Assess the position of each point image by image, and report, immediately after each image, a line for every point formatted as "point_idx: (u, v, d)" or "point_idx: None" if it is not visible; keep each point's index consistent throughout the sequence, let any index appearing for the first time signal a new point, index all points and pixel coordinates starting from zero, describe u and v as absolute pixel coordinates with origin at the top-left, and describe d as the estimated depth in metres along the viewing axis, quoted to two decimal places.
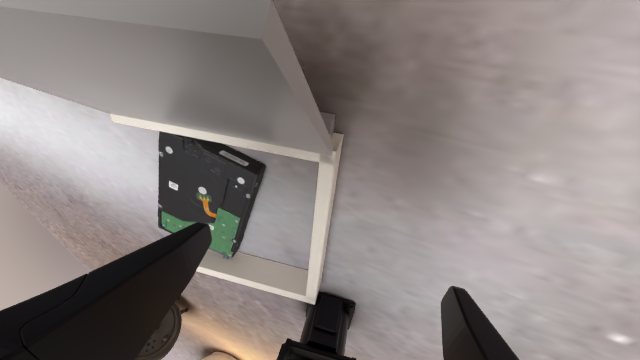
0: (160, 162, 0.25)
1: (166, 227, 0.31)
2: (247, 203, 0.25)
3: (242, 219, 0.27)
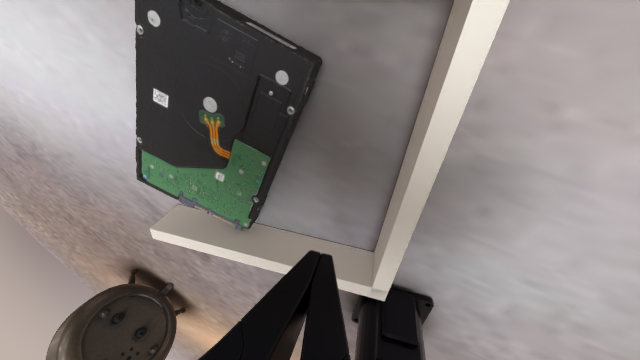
0: (138, 49, 0.14)
1: (149, 179, 0.20)
2: (287, 126, 0.15)
3: (274, 159, 0.16)
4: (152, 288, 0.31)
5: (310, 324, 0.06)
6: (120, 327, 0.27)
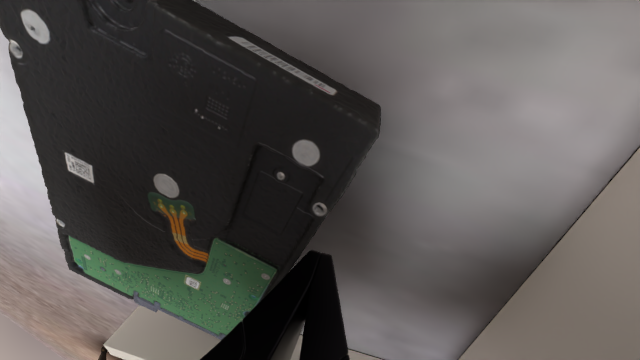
0: (22, 85, 0.07)
1: (87, 271, 0.13)
2: (311, 232, 0.08)
3: (284, 274, 0.09)
4: None
5: (309, 324, 0.06)
6: None
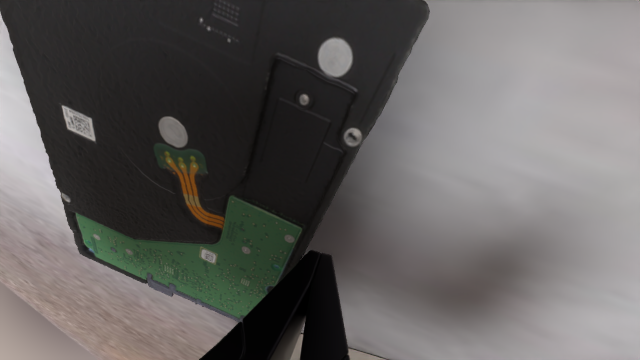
0: (9, 22, 0.07)
1: (98, 254, 0.12)
2: (342, 171, 0.07)
3: (311, 232, 0.08)
4: None
5: (309, 324, 0.06)
6: None
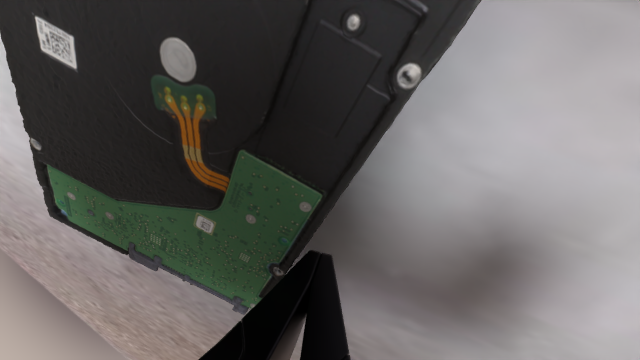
0: None
1: (72, 217, 0.11)
2: (386, 123, 0.05)
3: (333, 200, 0.07)
4: None
5: (310, 324, 0.06)
6: None
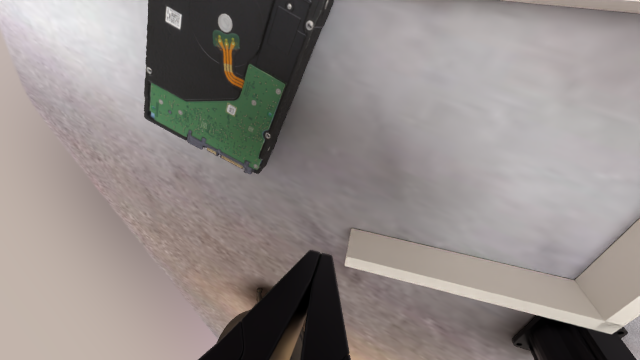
0: None
1: (157, 117, 0.20)
2: (305, 45, 0.14)
3: (289, 85, 0.16)
4: None
5: (310, 324, 0.06)
6: None
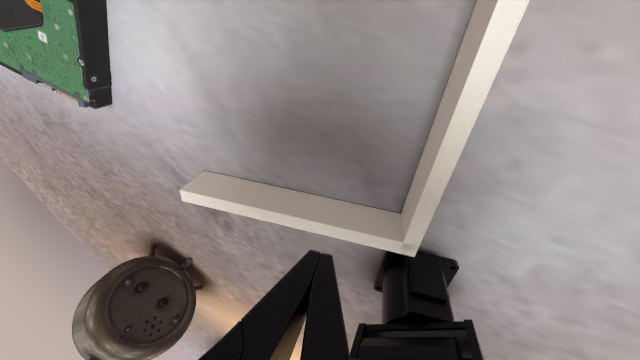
0: None
1: None
2: None
3: (75, 4, 0.17)
4: (172, 262, 0.31)
5: (310, 324, 0.06)
6: (143, 296, 0.27)
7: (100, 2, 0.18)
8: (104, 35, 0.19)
